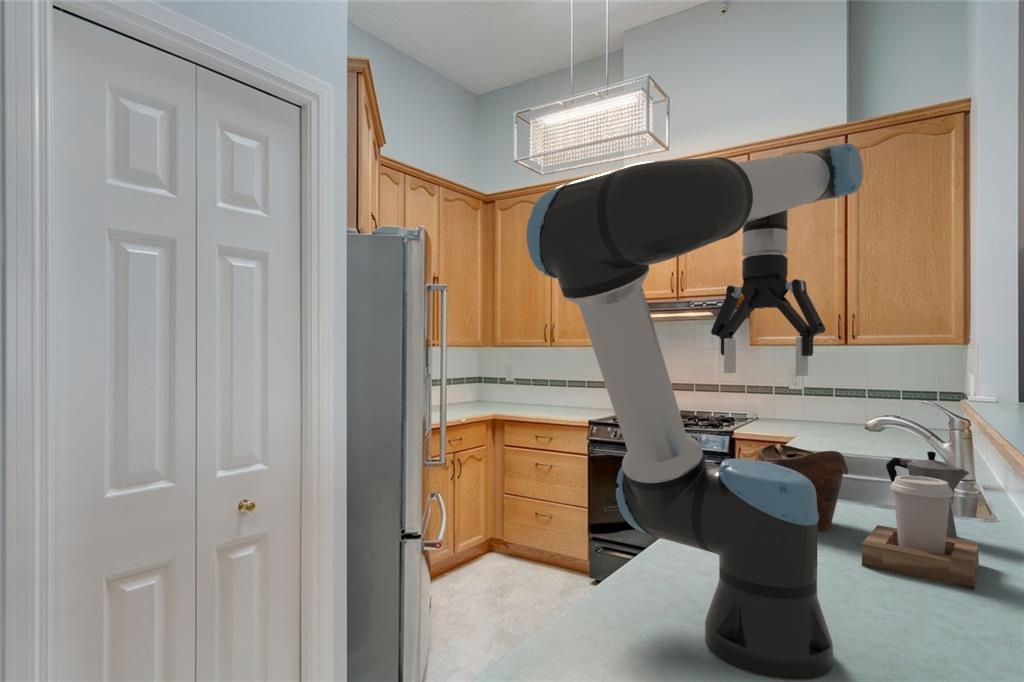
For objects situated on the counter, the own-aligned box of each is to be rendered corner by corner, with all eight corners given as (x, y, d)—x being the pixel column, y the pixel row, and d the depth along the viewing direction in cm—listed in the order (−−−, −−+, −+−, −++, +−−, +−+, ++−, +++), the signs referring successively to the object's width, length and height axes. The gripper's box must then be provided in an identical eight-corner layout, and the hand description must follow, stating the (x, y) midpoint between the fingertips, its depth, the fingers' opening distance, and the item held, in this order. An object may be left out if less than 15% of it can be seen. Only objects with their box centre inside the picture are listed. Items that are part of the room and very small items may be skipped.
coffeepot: (977, 539, 122) (976, 454, 122) (960, 548, 116) (960, 458, 117) (895, 522, 134) (895, 444, 135) (877, 528, 129) (877, 447, 129)
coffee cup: (957, 562, 106) (956, 480, 107) (950, 576, 99) (950, 488, 100) (895, 549, 113) (895, 472, 113) (885, 561, 106) (885, 479, 106)
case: (761, 506, 146) (761, 435, 146) (852, 521, 135) (852, 444, 135) (742, 523, 132) (743, 445, 132) (843, 542, 120) (843, 455, 120)
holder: (973, 590, 95) (973, 565, 95) (861, 565, 105) (861, 543, 106) (978, 564, 107) (978, 542, 107) (877, 544, 118) (877, 525, 118)
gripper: (847, 249, 97) (847, 376, 96) (716, 266, 117) (715, 372, 116) (826, 243, 92) (825, 377, 92) (693, 262, 112) (692, 372, 112)
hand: (764, 374), depth 104 cm, fingers open, 13 cm apart
